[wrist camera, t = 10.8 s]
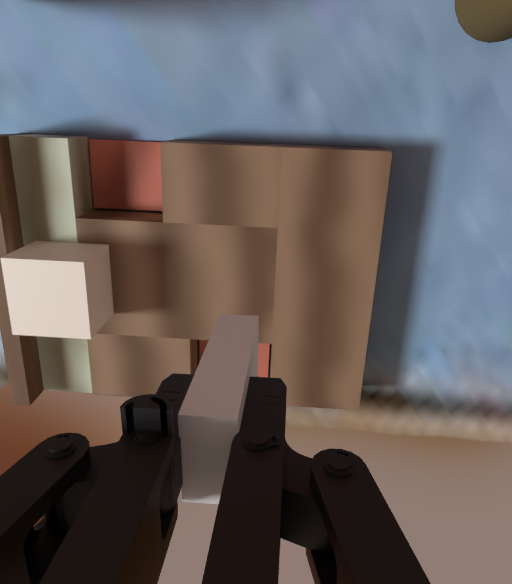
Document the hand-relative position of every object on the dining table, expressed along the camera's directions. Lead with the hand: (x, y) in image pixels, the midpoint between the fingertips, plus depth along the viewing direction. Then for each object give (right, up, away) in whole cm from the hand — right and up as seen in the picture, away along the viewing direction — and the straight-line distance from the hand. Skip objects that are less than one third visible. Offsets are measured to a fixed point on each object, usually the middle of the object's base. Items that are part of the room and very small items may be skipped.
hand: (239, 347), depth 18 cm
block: (-14, +3, +21) cm, 25 cm away
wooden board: (-5, +4, +24) cm, 25 cm away
